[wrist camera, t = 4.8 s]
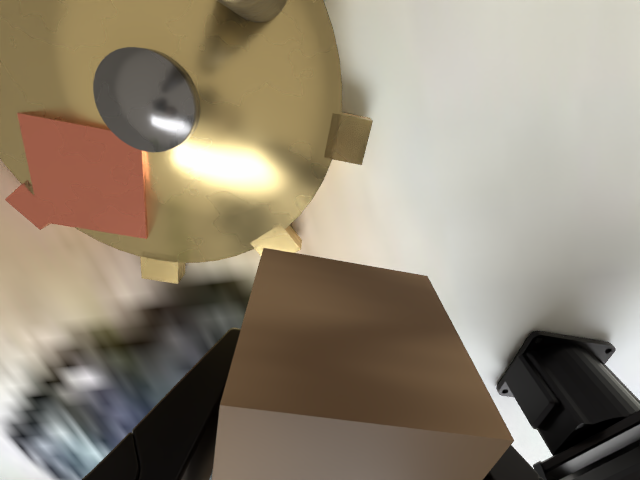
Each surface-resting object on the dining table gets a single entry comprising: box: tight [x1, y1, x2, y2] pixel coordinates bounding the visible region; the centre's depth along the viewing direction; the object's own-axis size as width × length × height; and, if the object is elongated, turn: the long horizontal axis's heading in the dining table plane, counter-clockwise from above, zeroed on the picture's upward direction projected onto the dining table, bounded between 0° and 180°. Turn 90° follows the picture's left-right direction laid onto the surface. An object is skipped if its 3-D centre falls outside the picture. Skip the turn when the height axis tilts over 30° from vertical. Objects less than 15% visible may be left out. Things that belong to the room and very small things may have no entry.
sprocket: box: [0, 0, 373, 284], centre depth 13 cm, size 21×21×10 cm
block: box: [212, 248, 514, 480], centre depth 8 cm, size 4×4×4 cm
